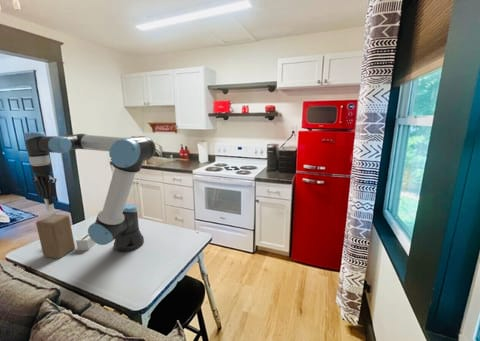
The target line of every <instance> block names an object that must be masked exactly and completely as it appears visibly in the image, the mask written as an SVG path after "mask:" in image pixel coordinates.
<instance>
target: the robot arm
mask: <svg viewBox="0 0 480 341" xmlns="http://www.w3.org/2000/svg"><path fill="white" fill-rule="evenodd" d="M23 136H24V142H25V147H26V150H27V154H28V155H27V156H28V159H29V165H31V166H30V168H31V173H32V174H35V175H34V177H32V178H31V180H32V182H33V184H34V186H35V188H36V190H37V193H38V196H39V197H41V198H42V199H43V201H44V204H45V209H46V212H51V211H54V210H55V205H54V199H53V198H54V197H56V193H57V192H56V191H57V190H56V188H57V187H56V184H57V178H56V177H55V178H53V176H52V174H51V172H52V171H53V166H52V163H51V157H50V153H56V154H62V153H68V152H69V151H73V150H86V151H87V150H88V151H90V150H91V151H102V152H109V153H108V155H109V157H110V161H111V166H112V167H113V168H114V169H113V173H112V175H111V179H110V183H109V187H108V191H107V195H106V198H105V200H104V204H103V208H102V210H100V211H99V212H98V213H97V215H96V218H95V219H96V220H95V222H93V223H91V224H90V225H89V226H88V229H87V233H88V234H87V235H89V236H90V238H91V239H92V240H93V241H94V242H95V243H96V244H97V245H99V246H105V245H108V244H110V243H112V242H113V248H114V250H115V251H116V252H120V253H123V252H124V253H125V252H130V251H134V250H136V249H139V248H140V247H142V246H143V244H144V243H145V240H144V238H145V237H144V235H142V232H141V230H140V226H139V217H138V210H137V206H136V205H135V204H131V203H129V204H128V203H127V201H128V197H129V195H130V192H131V187H132V185H133V181H134V179H135V175H136V174H137V173H139V172H140V171H141V169H142V165H143V163H144V162H146V161H148V160H151V159H152V158H153V157H154V155H155V154H156V149H157V148H156V147H157V146H156V144H155V142H154V140H153V139H152V138H150V137H148V136H146V135H140V136H139V135H137V136H135V135H132V136H130V137H120V136H118V137H117V136H105V135H95V134H94V135H91V134H88V133H87V134H86V133H75V134H65V135H56V136H55V135H54V136H50V135H49V136H47V135H46V133H45V132H44V131H26V132H25V133H24V134H23Z"/></svg>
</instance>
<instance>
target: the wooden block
mask: <svg viewBox="0 0 480 341" xmlns="http://www.w3.org/2000/svg"><path fill="white" fill-rule="evenodd" d="M35 224H36V229H37V232H38V237H39V243H40V246H41V250H42V251H41V252H42V255H43V257H45V258H50V259H51V258H52V259H57V260H58V259H61V258H62V257H64V256H65V255H67V254H68V253H71V252H72V251H74V250H75V249H76V246H75V244H76V243H75V240H74V235H73V229H72V224H71V220H70V216H69V215H67V214H57V213H54V214H50V215H48V216H46V217H44V218H42V219H39V220H37V221H36V222H35Z"/></svg>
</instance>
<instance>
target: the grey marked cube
mask: <svg viewBox="0 0 480 341" xmlns="http://www.w3.org/2000/svg"><path fill="white" fill-rule="evenodd" d="M75 242H76V243H75V244H76V248H77V251H90V250H91V249H92V248H93V247H94V246H95V245H96V244H97V243H95V242H94V241H93V240H92V239H91V238H90V236H89V234H82V235H81V236H80V237H78V238H77V239H76V240H75Z"/></svg>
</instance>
